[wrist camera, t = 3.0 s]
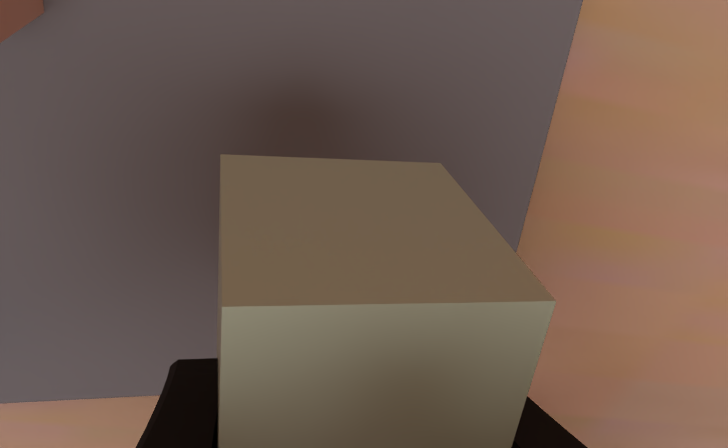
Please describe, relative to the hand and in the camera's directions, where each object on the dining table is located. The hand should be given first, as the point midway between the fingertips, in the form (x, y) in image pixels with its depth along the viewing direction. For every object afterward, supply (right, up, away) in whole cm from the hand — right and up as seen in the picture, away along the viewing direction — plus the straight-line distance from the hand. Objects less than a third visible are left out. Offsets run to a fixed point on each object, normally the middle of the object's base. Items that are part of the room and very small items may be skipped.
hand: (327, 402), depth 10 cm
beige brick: (0, +1, +1) cm, 2 cm away
